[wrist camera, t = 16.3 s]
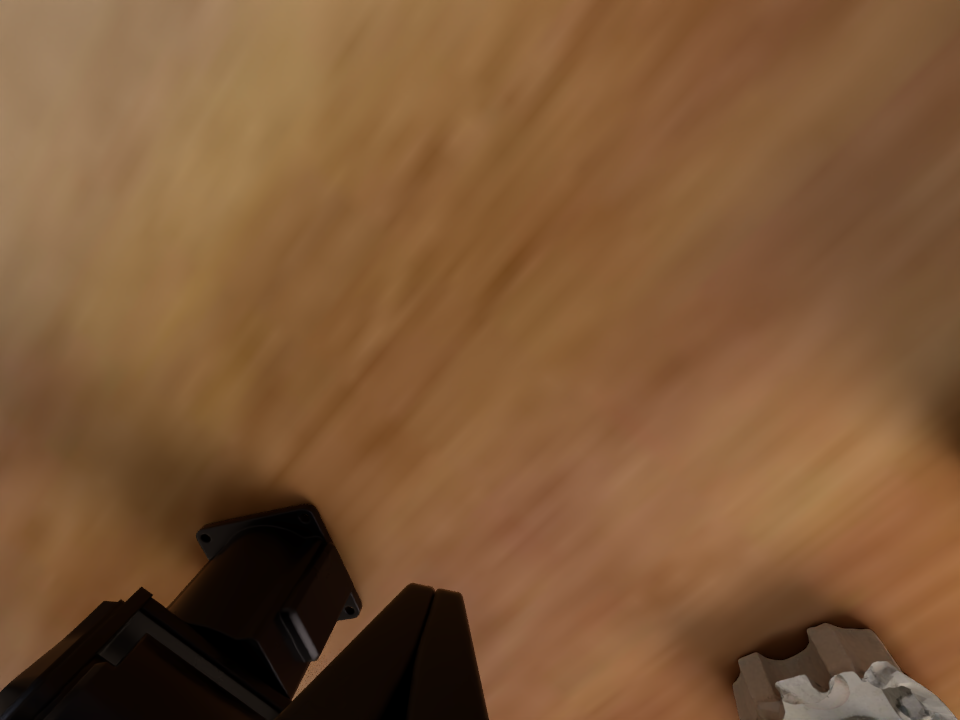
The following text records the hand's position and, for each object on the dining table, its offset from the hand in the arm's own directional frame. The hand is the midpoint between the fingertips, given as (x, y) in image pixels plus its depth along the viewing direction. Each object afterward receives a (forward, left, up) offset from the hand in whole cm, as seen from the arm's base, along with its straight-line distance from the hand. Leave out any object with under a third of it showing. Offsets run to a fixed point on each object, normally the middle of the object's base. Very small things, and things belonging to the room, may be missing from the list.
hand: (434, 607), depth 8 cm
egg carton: (+10, -21, -13) cm, 27 cm away
